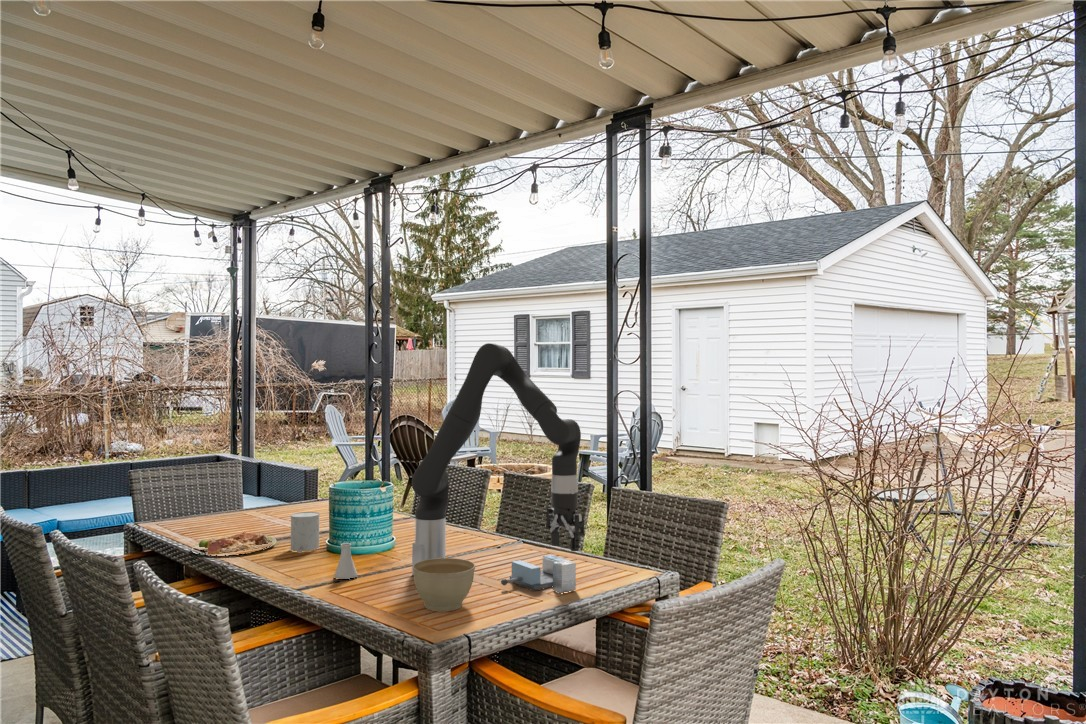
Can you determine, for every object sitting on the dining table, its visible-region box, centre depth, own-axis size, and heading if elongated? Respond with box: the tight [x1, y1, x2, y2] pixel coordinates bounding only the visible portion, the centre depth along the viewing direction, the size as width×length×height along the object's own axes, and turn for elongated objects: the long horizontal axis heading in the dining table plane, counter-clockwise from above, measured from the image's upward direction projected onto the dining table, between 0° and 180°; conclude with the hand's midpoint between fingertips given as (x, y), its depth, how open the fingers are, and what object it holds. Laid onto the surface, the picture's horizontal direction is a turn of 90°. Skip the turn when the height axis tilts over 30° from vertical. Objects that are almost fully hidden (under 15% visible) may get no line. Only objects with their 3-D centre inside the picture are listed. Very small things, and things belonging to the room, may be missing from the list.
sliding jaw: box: [500, 559, 542, 586], centre depth 206 cm, size 10×10×5 cm
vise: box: [509, 554, 567, 592], centre depth 212 cm, size 15×12×6 cm
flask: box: [333, 542, 358, 580], centre depth 216 cm, size 7×7×10 cm
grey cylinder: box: [290, 511, 320, 552], centre depth 251 cm, size 10×10×12 cm
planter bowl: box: [413, 557, 476, 613], centre depth 189 cm, size 16×16×11 cm
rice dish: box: [190, 531, 277, 554], centre depth 253 cm, size 28×28×5 cm
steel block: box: [552, 559, 577, 594], centre depth 203 cm, size 5×4×8 cm
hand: (565, 548), depth 203 cm, fingers open, 8 cm apart
